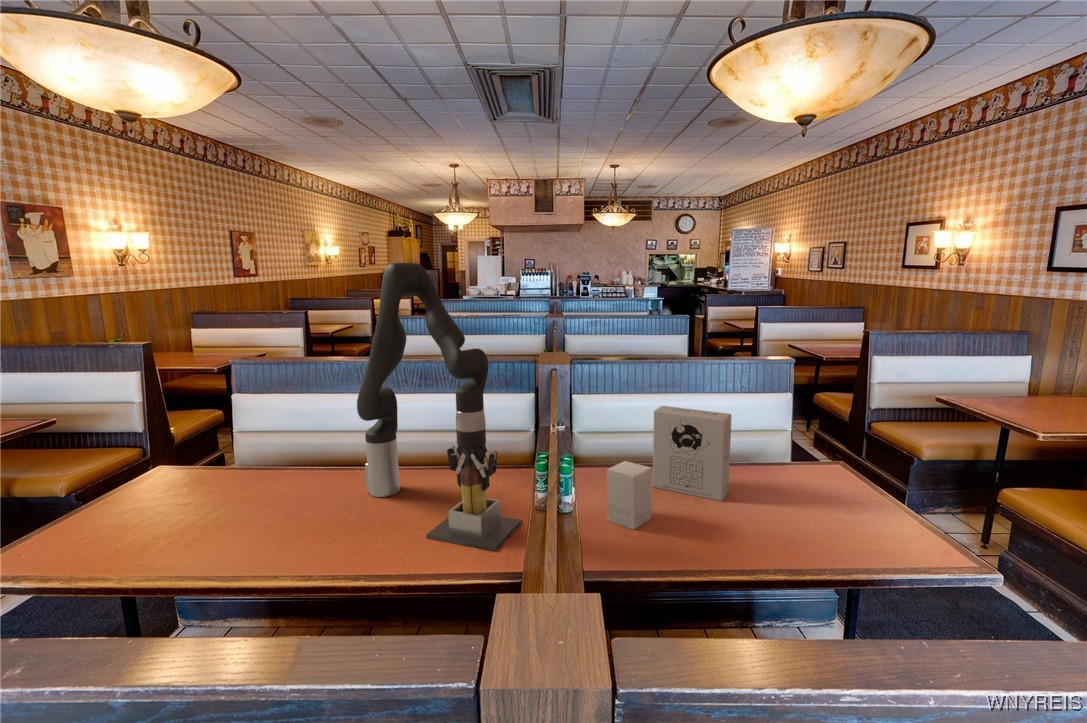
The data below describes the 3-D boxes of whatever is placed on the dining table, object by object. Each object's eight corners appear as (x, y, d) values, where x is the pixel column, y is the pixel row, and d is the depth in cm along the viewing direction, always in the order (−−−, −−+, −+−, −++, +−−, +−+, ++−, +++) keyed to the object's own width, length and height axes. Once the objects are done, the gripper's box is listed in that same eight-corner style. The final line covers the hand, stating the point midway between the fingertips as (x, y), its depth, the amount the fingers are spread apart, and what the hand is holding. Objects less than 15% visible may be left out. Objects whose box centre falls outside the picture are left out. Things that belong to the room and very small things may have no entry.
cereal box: (728, 492, 163) (731, 413, 159) (722, 502, 157) (725, 419, 153) (660, 479, 175) (662, 405, 170) (652, 487, 168) (653, 410, 164)
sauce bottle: (489, 513, 144) (487, 443, 141) (484, 524, 138) (482, 451, 135) (465, 512, 145) (462, 442, 142) (459, 523, 139) (456, 450, 136)
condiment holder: (426, 537, 139) (425, 512, 138) (458, 512, 153) (457, 489, 152) (495, 551, 131) (494, 525, 130) (522, 523, 146) (521, 499, 145)
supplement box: (652, 519, 147) (653, 467, 144) (634, 530, 140) (634, 476, 138) (624, 509, 153) (625, 459, 151) (606, 520, 147) (606, 468, 144)
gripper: (439, 427, 137) (442, 489, 140) (488, 433, 132) (491, 497, 134) (454, 420, 144) (457, 479, 146) (502, 424, 138) (504, 486, 141)
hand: (473, 487), depth 140 cm, fingers closed on sauce bottle, 6 cm apart
